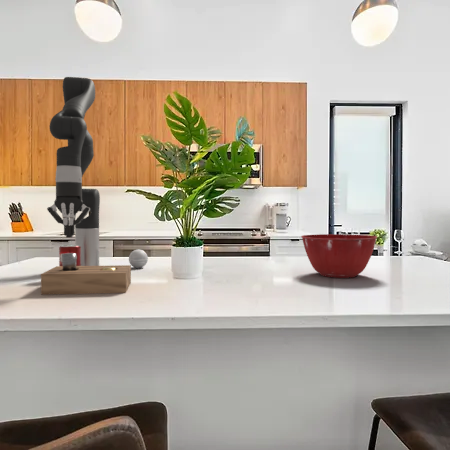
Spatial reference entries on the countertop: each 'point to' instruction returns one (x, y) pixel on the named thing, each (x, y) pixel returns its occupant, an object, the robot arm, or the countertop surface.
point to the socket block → (86, 280)
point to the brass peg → (109, 268)
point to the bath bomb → (138, 258)
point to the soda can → (70, 249)
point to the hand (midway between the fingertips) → (69, 237)
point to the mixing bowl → (339, 253)
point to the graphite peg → (69, 261)
